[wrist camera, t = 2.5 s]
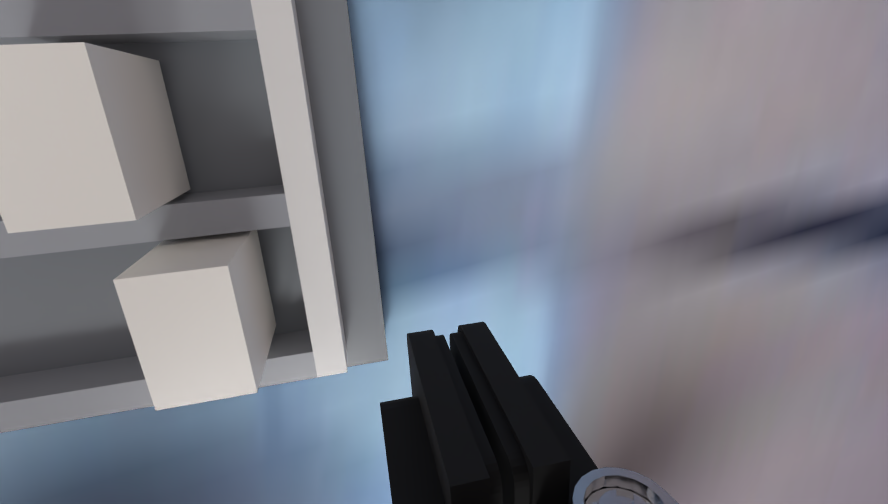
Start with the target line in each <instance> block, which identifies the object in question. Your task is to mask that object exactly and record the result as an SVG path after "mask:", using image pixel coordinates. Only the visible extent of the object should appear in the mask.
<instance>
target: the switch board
mask: <svg viewBox="0 0 888 504" xmlns="http://www.w3.org/2000/svg"><path fill="white" fill-rule="evenodd" d="M75 42H85V43H89V44H93V45H97V46H101V47H106V48H110V49H114V50H118V51H122V52H126V53H130V54H134V55H138V56H142V57H146V58H150V59H154V60H158V61H159V63H160V67H161V71H162V75H163V80H164V84H165V88H166V92H167V96H168V100H169V104H170V108H171V112H172V116H173V120H174V124H175V128H176V132H177V136H178V140H179V144H180V148H181V153H182V157H183V161H184V165H185V169H186V173H187V177H188V181H189V185H190V190H188V191H187V192H185V193H183V194H181V195H180V196H178V197H176V198H174V199H173V200H171V201H169V202H167V203H166V204H164V205H162V206H160V207H159V208H157V209H155V210H153V211H152V212H150V213H148V214H147V215H145V216H143V217H141V218H140V219H138V220H135V221H125V222H115V223H105V224H96V225H86V226H76V227H66V228H56V229H47V230H37V231H27V232H17V233H8V232H7V230H6V227H5V225H4V222H3V220H2V217H1V215H0V433H3V432H9V431H15V430H20V429H26V428H32V427H37V426H43V425H49V424H55V423H60V422H66V421H72V420H77V419H83V418H89V417H94V416H100V415H106V414H112V413H117V412H123V411H129V410H134V409H140V408H146V407H152V406H154V404H153V401H152V398H151V395H150V392H149V389H148V386H147V383H146V380H145V377H144V374H143V371H142V368H141V365H140V361H139V358H138V355H137V352H136V349H135V346H134V343H133V340H132V337H131V334H130V331H129V328H128V325H127V322H126V318H125V315H124V312H123V309H122V306H121V303H120V300H119V297H118V294H117V291H116V288H115V285H114V282H113V280H114V279H115V278H116V277H117V276H119V275H120V274H121V273H123V272H124V271H125V270H126V269H128V268H129V267H130V266H132V265H133V264H134V263H135V262H137V261H138V260H139V259H140V258H142V257H143V256H144V255H146V254H147V253H148V252H149V251H151V250H152V249H153V248H155V247H156V246H157V245H158V244H160V243H161V242H162V241H164V240H172V239H181V238H190V237H199V236H208V235H217V234H226V233H235V232H244V231H253V230H257V233H258V237H259V242H260V247H261V252H262V257H263V262H264V267H265V272H266V277H267V282H268V287H269V291H270V296H271V301H272V306H273V311H274V316H275V321H276V328H275V331H274V335H273V338H272V342H271V346H270V349H269V353H268V356H267V360H266V363H265V367H264V371H263V374H262V378H261V381H260V385H259V388H260V387H266V386H272V385H277V384H283V383H289V382H294V381H300V380H306V379H312V378H317V377H323V376H329V375H334V374H340V373H346V372H347V367H350V366H356V365H362V364H368V363H373V362H379V361H385V360H388V354H387V345H386V337H385V328H384V319H383V311H382V302H381V293H380V284H379V276H378V267H377V258H376V250H375V241H374V232H373V224H372V215H371V206H370V198H369V189H368V180H367V171H366V163H365V154H364V145H363V137H362V128H361V119H360V111H359V102H358V93H357V85H356V76H355V67H354V59H353V50H352V41H351V32H350V24H349V15H348V6H347V0H0V45H13V44H44V43H75Z"/></svg>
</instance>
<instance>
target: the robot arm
mask: <svg viewBox="0 0 888 504" xmlns="http://www.w3.org/2000/svg"><path fill="white" fill-rule="evenodd" d="M407 344H408V355H409V365H410V376H411V386H412V397H408V398H403V399H398V400H392V401H387V402H381V403H380V407H381V415H382V423H383V432H384V440H385V448H386V456H387V464H388V472H389V480H390V488H391V496H392V504H679V503H678V502H676V501H675V500H674V499H673V498H672V497H671V496H670V495H669V494H668V493H667V492H666V491H665V490H664V489H663V488H661V487H660V486H659V485H658V484H656V483H655V482H654V481H653V480H651V479H649V478H647V477H645V476H643V475H641V474H639V473H637V472H634V471H630V470H627V469H623V468H612V467H605V468H600V469H598V468H597V466H596V465H595V463H594V462H593V461H592V459H591V458H590V456H589V455H588V453H587V452H586V450H585V449H584V447H583V446H582V444H581V443H580V442H579V440H578V439H577V437H576V436H575V434H574V433H573V431H572V430H571V428H570V427H569V425H568V424H567V423H566V421H565V420H564V418H563V417H562V415H561V414H560V412H559V411H558V409H557V408H556V406H555V405H554V404H553V402H552V401H551V399H550V398H549V396H548V395H547V393H546V392H545V390H544V389H543V387H542V386H541V385H540V383H539V382H538V380H537V379H536V378H535V377H534V376H532V375H528V376H523V377H519V376H518V375H517V373H516V371H515V370H514V368H513V367H512V365H511V363H510V362H509V360H508V359H507V357H506V355H505V354H504V352H503V351H502V349H501V348H500V346H499V344H498V343H497V341H496V340H495V338H494V336H493V335H492V333H491V332H490V330H489V328H488V327H487V325H486V324H485V323H484V322H478V323H472V324H465V325H459V326H458V332H457V333H451V334H450V349H449V347H448V344H447V342H446V340H445V337H444V335H439V336H435V334H434V332H433V330H427V331H421V332H414V333H408V334H407Z"/></svg>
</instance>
